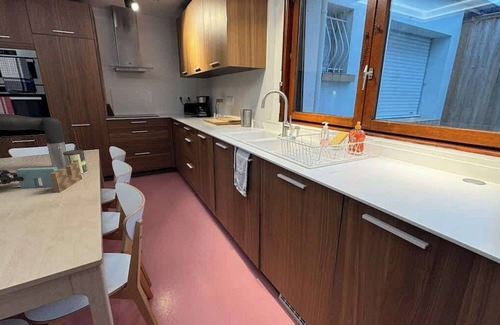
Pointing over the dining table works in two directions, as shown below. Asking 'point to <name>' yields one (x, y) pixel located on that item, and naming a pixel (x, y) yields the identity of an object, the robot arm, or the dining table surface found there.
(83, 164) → the coffee can
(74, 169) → the base plate
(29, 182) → the cross plate
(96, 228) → the dining table surface
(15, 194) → the dining table surface
